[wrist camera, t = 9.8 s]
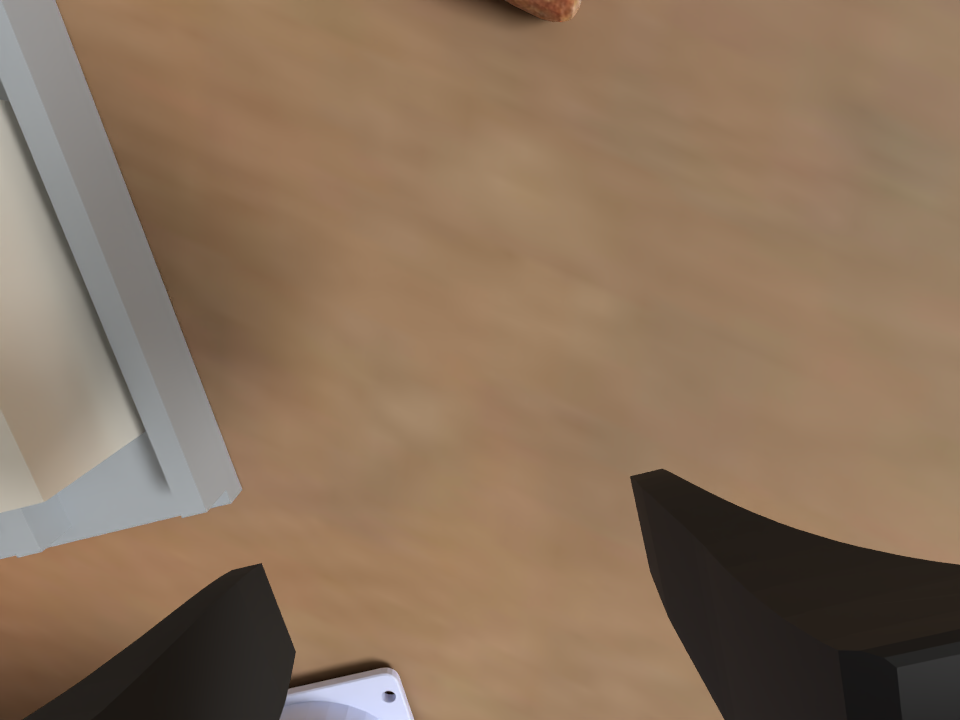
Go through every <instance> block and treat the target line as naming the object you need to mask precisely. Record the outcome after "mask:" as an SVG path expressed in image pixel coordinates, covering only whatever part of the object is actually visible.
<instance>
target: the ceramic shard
mask: <svg viewBox="0 0 960 720" xmlns="http://www.w3.org/2000/svg"><path fill="white" fill-rule="evenodd" d="M505 1H507V2H508V3H510V4H512V5H514V6H516V7H518V8H520V9H522V10H524V11H526V12H528V13H530V14H532V15H534V16H536V17H538V18H541V19H544V20H548V21H552V22H564V21H569V20H571V19H572V18H573V16H574V15H575V14H576V12H577V11H578V9H579V6H580V4H581V0H505Z"/></svg>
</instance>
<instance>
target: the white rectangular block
mask: <svg viewBox="0 0 960 720" xmlns="http://www.w3.org/2000/svg"><path fill="white" fill-rule="evenodd" d="M145 431H146V429H145V427H144V425H143V422H142V420H141V417H140V415H139V413H138V410H137V408H136V405H135V403H134V400H133V398H132V396H131V393H130V391H129V388H128V386H127V384H126V381H125V379H124V376H123V374H122V371H121V369H120V367H119V364H118V362H117V359H116V357H115V355H114V352H113V350H112V347H111V345H110V343H109V340H108V338H107V335H106V333H105V330H104V328H103V326H102V323H101V321H100V318H99V316H98V314H97V311H96V309H95V306H94V304H93V301H92V299H91V297H90V294H89V292H88V289H87V287H86V285H85V282H84V280H83V277H82V275H81V272H80V270H79V268H78V265H77V263H76V260H75V258H74V256H73V253H72V251H71V248H70V246H69V243H68V241H67V239H66V236H65V234H64V231H63V229H62V227H61V224H60V222H59V219H58V217H57V214H56V212H55V210H54V207H53V205H52V202H51V200H50V198H49V195H48V193H47V190H46V188H45V185H44V183H43V181H42V178H41V176H40V173H39V171H38V169H37V166H36V164H35V161H34V159H33V156H32V154H31V152H30V149H29V147H28V144H27V142H26V140H25V137H24V135H23V132H22V130H21V127H20V125H19V123H18V120H17V118H16V115H15V113H14V111H13V108H12V106H11V103H10V102H9V101H5V100H0V513H2V512H6V511H10V510H14V509H18V508H22V507H26V506H30V505H34V504H38V503H42V502H45V501H47V500H48V499H50V498H51V497H52V496H54V495H55V494H57V493H58V492H60V491H61V490H62V489H64V488H65V487H67V486H68V485H70V484H71V483H72V482H74V481H75V480H77V479H78V478H80V477H81V476H82V475H84V474H85V473H87V472H88V471H90V470H91V469H92V468H94V467H95V466H97V465H98V464H100V463H101V462H102V461H104V460H105V459H107V458H108V457H110V456H111V455H112V454H114V453H115V452H117V451H118V450H120V449H121V448H122V447H124V446H125V445H127V444H128V443H130V442H131V441H133V440H134V439H135V438H137V437H138V436H140V435H141V434H143V433H144V432H145Z"/></svg>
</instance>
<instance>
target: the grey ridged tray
mask: <svg viewBox="0 0 960 720" xmlns="http://www.w3.org/2000/svg"><path fill="white" fill-rule="evenodd" d="M0 100H5V101H9V102H10V103H11V106H12V108H13V111H14V113H15V115H16V118H17V120H18V123H19V125H20V127H21V130H22V132H23V135H24V137H25V140H26V142H27V144H28V147H29V149H30V152H31V154H32V156H33V159H34V161H35V164H36V166H37V169H38V171H39V173H40V176H41V178H42V181H43V183H44V185H45V188H46V190H47V193H48V195H49V198H50V200H51V202H52V205H53V207H54V210H55V212H56V214H57V217H58V219H59V222H60V224H61V227H62V229H63V231H64V234H65V236H66V239H67V241H68V243H69V246H70V248H71V251H72V253H73V256H74V258H75V260H76V263H77V265H78V268H79V270H80V272H81V275H82V277H83V280H84V282H85V285H86V287H87V289H88V292H89V294H90V297H91V299H92V301H93V304H94V306H95V309H96V311H97V314H98V316H99V318H100V321H101V323H102V326H103V328H104V330H105V333H106V335H107V338H108V340H109V343H110V345H111V347H112V350H113V352H114V355H115V357H116V359H117V362H118V364H119V367H120V369H121V371H122V374H123V376H124V379H125V381H126V384H127V386H128V388H129V391H130V393H131V396H132V398H133V400H134V403H135V405H136V408H137V410H138V413H139V415H140V417H141V420H142V422H143V425H144V427H145V429H146V431H145V432H144V433H143V434H141V435H140V436H138V437H137V438H135V439H134V440H133V441H131V442H130V443H128V444H127V445H125V446H124V447H122V448H121V449H120V450H118V451H117V452H115V453H114V454H112V455H111V456H110V457H108V458H107V459H105V460H104V461H102V462H101V463H100V464H98V465H97V466H95V467H94V468H92V469H91V470H90V471H88V472H87V473H85V474H84V475H82V476H81V477H80V478H78V479H77V480H75V481H74V482H72V483H71V484H70V485H68V486H67V487H65V488H64V489H62V490H61V491H60V492H58V493H57V494H55V495H54V496H52V497H51V498H50V499H48V500H47V501H45V502H42V503H38V504H34V505H30V506H26V507H22V508H18V509H14V510H10V511H6V512H2V513H0V559H3V558H7V557H11V556H15V555H16V556H17V558H18V557H22V556H27V555H31V554H35V553H39V552H42V551H43V550H45V549H46V548H48V547H52V546H57V545H61V544H65V543H69V542H73V541H77V540H81V539H85V538H90V537H94V536H98V535H102V534H106V533H110V532H114V531H119V530H123V529H127V528H131V527H135V526H139V525H143V524H148V523H152V522H156V521H160V520H164V519H168V518H172V517H176V516H182V518H184V517H188V516H192V515H196V514H200V513H205V512H207V511H208V510H209V509H210V508H214V507H218V506H222V505H226V504H230V503H232V502H233V500H234V499H235V498H236V497H237V496H238V494H239V493H240V492H241V491H242V488H241V485H240V482H239V480H238V477H237V475H236V472H235V469H234V467H233V464H232V461H231V459H230V456H229V454H228V451H227V448H226V446H225V443H224V441H223V438H222V435H221V433H220V430H219V427H218V425H217V422H216V420H215V417H214V414H213V412H212V409H211V407H210V404H209V401H208V399H207V396H206V393H205V391H204V388H203V386H202V383H201V380H200V378H199V375H198V373H197V370H196V367H195V365H194V362H193V359H192V357H191V354H190V352H189V349H188V346H187V344H186V341H185V339H184V336H183V333H182V331H181V328H180V325H179V323H178V320H177V318H176V315H175V312H174V310H173V307H172V305H171V302H170V299H169V297H168V294H167V291H166V289H165V286H164V284H163V281H162V278H161V276H160V273H159V271H158V268H157V265H156V263H155V260H154V257H153V255H152V252H151V250H150V247H149V244H148V242H147V239H146V237H145V234H144V231H143V229H142V226H141V223H140V221H139V218H138V216H137V213H136V210H135V208H134V205H133V203H132V200H131V197H130V195H129V192H128V189H127V187H126V184H125V182H124V179H123V176H122V174H121V171H120V169H119V166H118V163H117V161H116V158H115V155H114V153H113V150H112V148H111V145H110V142H109V140H108V137H107V135H106V132H105V129H104V127H103V124H102V121H101V119H100V116H99V114H98V111H97V108H96V106H95V103H94V101H93V98H92V95H91V93H90V90H89V88H88V85H87V82H86V80H85V77H84V74H83V72H82V69H81V67H80V64H79V61H78V59H77V56H76V54H75V51H74V48H73V46H72V43H71V40H70V38H69V35H68V33H67V30H66V27H65V25H64V22H63V20H62V17H61V14H60V12H59V9H58V6H57V4H56V1H55V0H0Z"/></svg>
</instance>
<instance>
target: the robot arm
mask: <svg viewBox="0 0 960 720" xmlns="http://www.w3.org/2000/svg"><path fill="white" fill-rule="evenodd" d="M630 478H631V483H632V488H633V493H634V497H635V502H636V507H637V512H638V516H639V521H640V526H641V531H642V535H643V540H644V545H645V549H646V554H647V559H648V564H649V568H650V572H651V575H652V577H653V580H654V582H655V585H656V588H657V590H658V593H659V595H660V598H661V600H662V603H663V605H664V608H665V610H666V612H667V615H668V617H669V619H670V621H671V623H672V625H673V627H674V629H675V631H676V632H677V634H678V636H679V638H680V640H681V642H682V643H683V645H684V647H685V649H686V651H687V653H688V654H689V656H690V658H691V660H692V662H693V663H694V665H695V667H696V669H697V671H698V672H699V674H700V676H701V678H702V680H703V681H704V683H705V685H706V687H707V689H708V691H709V692H710V694H711V696H712V698H713V700H714V701H715V703H716V705H717V707H718V709H719V710H720V712H721V714H722V716H723V718H724V719H725V720H960V565H957V564H950V563H942V562H935V561H929V560H923V559H917V558H911V557H905V556H900V555H895V554H890V553H886V552H881V551H876V550H872V549H867V548H862V547H858V546H854V545H850V544H846V543H842V542H838V541H834V540H831V539H828V538H824V537H821V536H818V535H814V534H811V533H808V532H805V531H801V530H798V529H795V528H792V527H789V526H787V525H784V524H781V523H778V522H776V521H773V520H771V519H768V518H766V517H763V516H761V515H758V514H756V513H753V512H751V511H748V510H746V509H744V508H742V507H739V506H737V505H735V504H733V503H730V502H728V501H726V500H724V499H722V498H720V497H718V496H716V495H714V494H712V493H710V492H708V491H706V490H704V489H702V488H700V487H698V486H696V485H694V484H692V483H690V482H688V481H686V480H684V479H682V478H680V477H678V476H677V475H675V474H673V473H671V472H669V471H666V470H664V469H659V470H655V471H651V472H647V473H642V474H638V475H634V476H630ZM295 653H296V651H295V649H294V646H293V643H292V641H291V638H290V636H289V633H288V630H287V628H286V625H285V623H284V620H283V618H282V615H281V612H280V610H279V607H278V605H277V602H276V599H275V597H274V594H273V592H272V589H271V586H270V584H269V581H268V579H267V576H266V574H265V571H264V568H263V566H262V563H261V564H256V565H252V566H248V567H244V568H239V569H235V570H231V571H230V572H228V573H226V574H224V575H223V576H221V577H220V578H218V579H216V580H215V581H214V582H212V583H211V584H209V585H208V586H207V587H205V588H204V589H202V590H201V591H200V592H198V593H197V594H196V595H194V596H193V597H192V598H190V599H189V600H188V601H187V602H185V603H184V604H183V605H181V606H180V607H179V608H177V609H176V610H175V611H174V612H172V613H171V614H170V615H168V616H167V617H166V618H165V619H163V620H162V621H161V622H159V623H158V624H157V625H156V626H154V627H153V628H152V629H150V630H149V631H148V632H147V633H145V634H144V635H143V636H141V637H140V638H139V639H137V640H136V641H135V642H133V643H132V644H131V645H129V646H128V647H127V648H125V649H124V650H123V651H121V652H120V653H119V654H117V655H116V656H114V657H113V658H112V659H110V660H109V661H108V662H106V663H105V664H104V665H102V666H101V667H100V668H98V669H97V670H95V671H94V672H93V673H91V674H90V675H89V676H87V677H86V678H85V679H83V680H82V681H80V682H79V683H77V684H76V685H75V686H73V687H72V688H70V689H69V690H67V691H66V692H64V693H63V694H61V695H60V696H58V697H57V698H55V699H54V700H52V701H51V702H49V703H48V704H46V705H45V706H43V707H41V708H40V709H38V710H37V711H35V712H34V713H32V714H30V715H29V716H27V717H26V718H24V719H23V720H414V718H413V715H412V712H411V709H410V706H409V703H408V700H407V697H406V694H405V691H404V689H403V686H402V683H401V680H400V677H399V675H398V673H397V672H396V671H395V670H393V669H391V668H388V667H387V668H379V669H375V670H370V671H366V672H361V673H357V674H352V675H348V676H343V677H339V678H334V679H330V680H325V681H321V682H317V683H312V684H308V685H303V686H299V687H294V688H290V689H288V688H289V684H290V679H291V674H292V669H293V663H294V658H295ZM386 691H392V692H394V694H387V693H385V692H386Z"/></svg>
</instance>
